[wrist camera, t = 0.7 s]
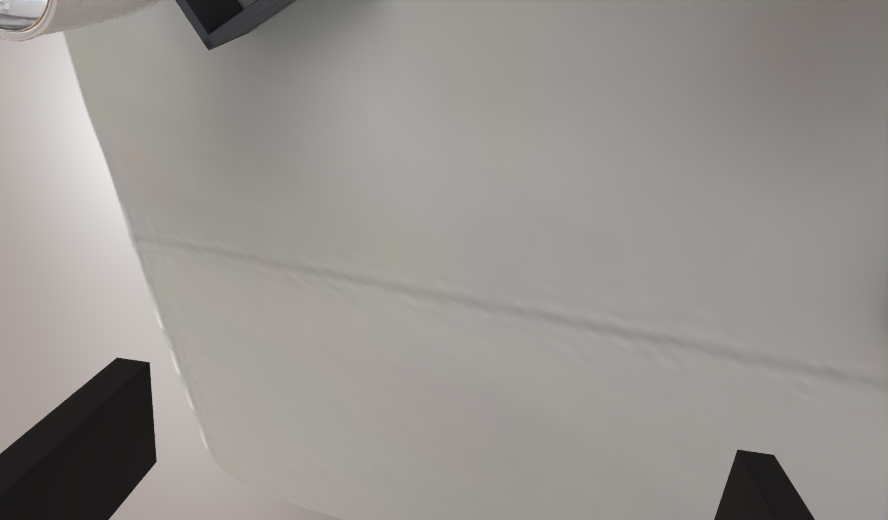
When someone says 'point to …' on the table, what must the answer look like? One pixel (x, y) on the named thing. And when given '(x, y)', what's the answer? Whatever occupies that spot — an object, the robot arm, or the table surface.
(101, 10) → the beer glass
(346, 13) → the table surface
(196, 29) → the rectangular tray
